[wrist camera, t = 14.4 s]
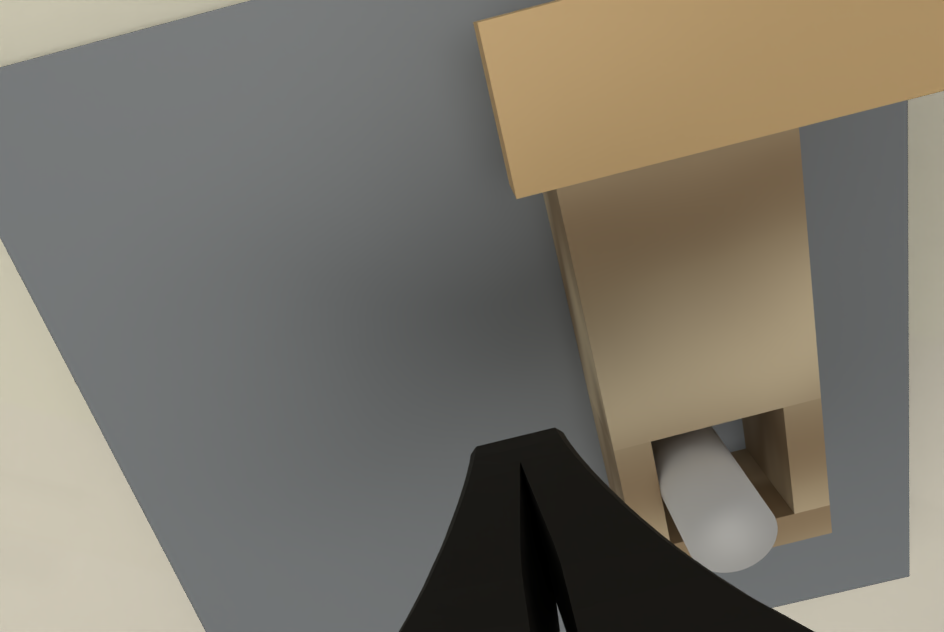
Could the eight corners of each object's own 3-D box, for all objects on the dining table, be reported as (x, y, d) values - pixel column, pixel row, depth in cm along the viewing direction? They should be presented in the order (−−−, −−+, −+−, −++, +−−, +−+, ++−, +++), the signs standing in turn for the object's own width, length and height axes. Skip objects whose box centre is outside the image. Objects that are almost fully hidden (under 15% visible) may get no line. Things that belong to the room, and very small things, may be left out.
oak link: (778, 465, 21) (832, 532, 19) (614, 507, 22) (642, 579, 19) (721, -47, 16) (783, -60, 13) (502, 16, 16) (518, 15, 13)
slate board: (878, -165, 16) (1116, -259, 11) (891, 554, 24) (1028, 714, 19) (-51, 84, 17) (-282, 117, 11) (261, 700, 25) (214, 894, 20)
